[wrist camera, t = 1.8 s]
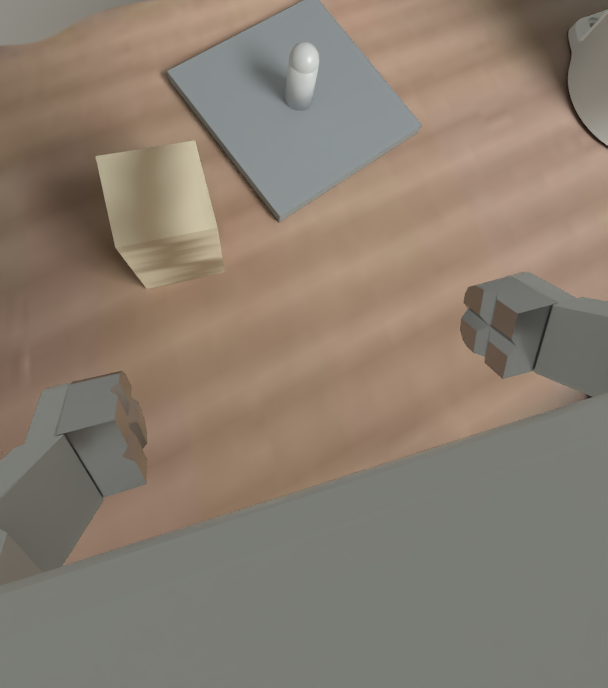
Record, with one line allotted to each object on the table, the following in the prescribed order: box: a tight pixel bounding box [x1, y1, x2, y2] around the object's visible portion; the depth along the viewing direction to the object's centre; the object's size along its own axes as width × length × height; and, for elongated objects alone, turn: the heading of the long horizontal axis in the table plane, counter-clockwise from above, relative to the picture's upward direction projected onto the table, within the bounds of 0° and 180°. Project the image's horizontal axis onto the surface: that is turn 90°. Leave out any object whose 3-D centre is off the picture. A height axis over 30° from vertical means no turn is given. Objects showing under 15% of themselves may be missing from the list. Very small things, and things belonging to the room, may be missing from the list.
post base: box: [167, 0, 422, 222], centre depth 35 cm, size 16×16×6 cm
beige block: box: [96, 140, 225, 289], centre depth 30 cm, size 6×6×8 cm
